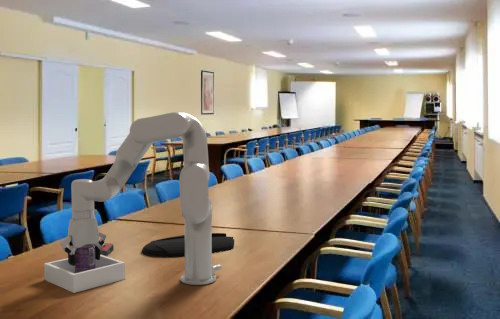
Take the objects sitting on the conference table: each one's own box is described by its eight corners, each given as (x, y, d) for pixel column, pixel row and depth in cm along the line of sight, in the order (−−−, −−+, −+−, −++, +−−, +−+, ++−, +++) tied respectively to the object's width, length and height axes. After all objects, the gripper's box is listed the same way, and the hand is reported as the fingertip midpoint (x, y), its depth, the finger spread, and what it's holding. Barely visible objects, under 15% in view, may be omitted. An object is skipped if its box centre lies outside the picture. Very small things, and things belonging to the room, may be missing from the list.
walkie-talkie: (95, 249, 233) (79, 262, 213) (94, 239, 233) (79, 251, 213) (115, 249, 233) (101, 262, 213) (114, 239, 233) (101, 251, 213)
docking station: (134, 248, 236) (134, 236, 236) (219, 238, 254) (219, 227, 254) (151, 262, 214) (150, 250, 214) (242, 250, 232) (242, 239, 232)
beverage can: (95, 273, 195) (94, 241, 194) (96, 279, 189) (95, 246, 188) (75, 275, 193) (74, 243, 192) (75, 281, 186) (74, 247, 185)
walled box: (94, 267, 205) (94, 252, 204) (125, 278, 191) (124, 262, 191) (44, 279, 190) (44, 263, 190) (73, 292, 177) (73, 275, 176)
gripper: (99, 209, 198) (100, 255, 199) (54, 216, 185) (56, 265, 186) (110, 212, 193) (111, 259, 194) (65, 219, 180) (67, 269, 181)
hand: (84, 262), depth 190 cm, fingers open, 9 cm apart
